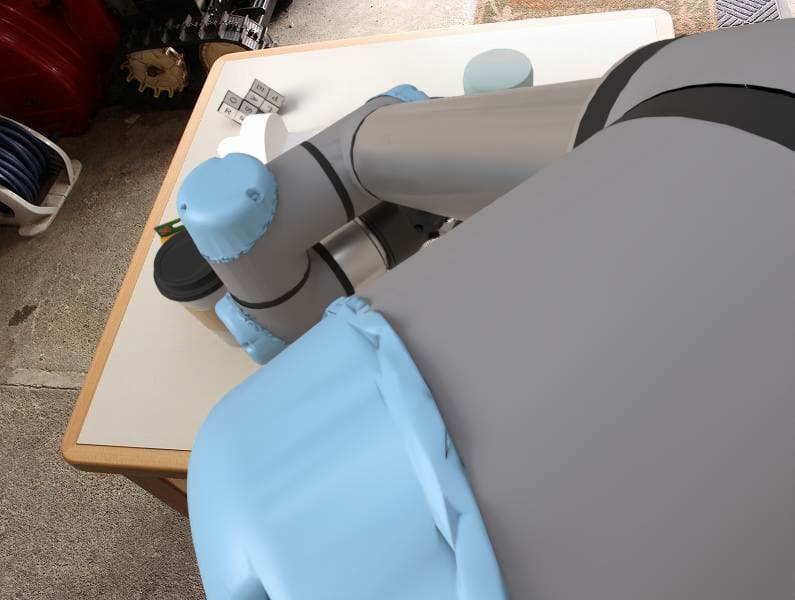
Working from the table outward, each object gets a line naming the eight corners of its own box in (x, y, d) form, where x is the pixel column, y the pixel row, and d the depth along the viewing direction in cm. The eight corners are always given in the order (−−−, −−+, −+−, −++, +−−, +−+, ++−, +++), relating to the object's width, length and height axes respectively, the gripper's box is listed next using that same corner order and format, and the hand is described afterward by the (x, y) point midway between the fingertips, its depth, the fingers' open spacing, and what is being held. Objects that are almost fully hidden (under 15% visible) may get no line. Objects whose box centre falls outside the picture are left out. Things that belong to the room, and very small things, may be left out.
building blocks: (271, 116, 103) (228, 89, 100) (284, 97, 99) (239, 68, 96) (261, 137, 101) (216, 110, 97) (275, 119, 97) (228, 90, 93)
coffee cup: (287, 298, 78) (242, 221, 66) (266, 363, 73) (213, 293, 61) (221, 295, 81) (166, 220, 68) (196, 358, 76) (132, 289, 63)
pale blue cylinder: (532, 234, 70) (533, 89, 54) (475, 235, 72) (459, 94, 55) (532, 192, 74) (533, 44, 57) (478, 194, 75) (464, 50, 59)
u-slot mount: (340, 147, 93) (322, 94, 85) (329, 194, 88) (309, 142, 80) (231, 154, 96) (204, 104, 88) (215, 200, 91) (184, 150, 83)
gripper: (322, 217, 68) (476, 108, 73) (436, 322, 57) (605, 186, 63) (302, 168, 61) (471, 53, 67) (425, 275, 51) (613, 129, 57)
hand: (535, 118), depth 65 cm, fingers closed on pale blue cylinder, 6 cm apart
